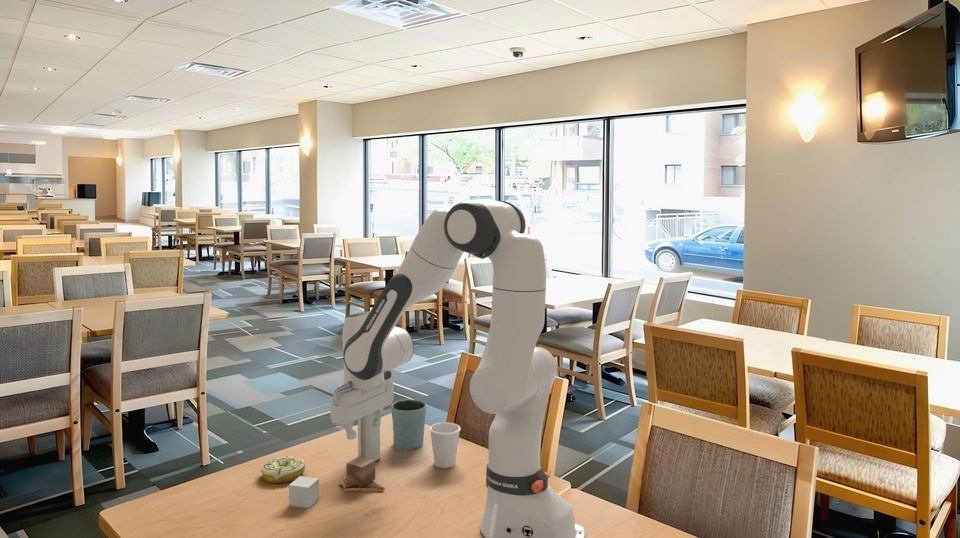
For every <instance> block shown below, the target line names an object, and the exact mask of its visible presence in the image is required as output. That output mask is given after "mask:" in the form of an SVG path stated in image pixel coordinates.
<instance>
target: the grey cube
mask: <svg viewBox="0 0 960 538" xmlns="http://www.w3.org/2000/svg"><path fill="white" fill-rule="evenodd" d="M319 499H320V478H319V477H310V476H302V475H301V476H299V477H298V478H297V479H294V480H292V482H291V483H290V484H289V485H288V505H289V506H291V507H296V508H297V507H298V508H306V509H310V508H311V506H313V505H314V504H315V503H316V502H317V501H318V500H319Z"/></svg>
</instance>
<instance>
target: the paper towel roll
mask: <svg viewBox="0 0 960 538" xmlns="http://www.w3.org/2000/svg"><path fill="white" fill-rule="evenodd" d="M374 414H375V412H373V413H371V414H369V415H367V416H364V417H362V418H360V419H358V420H357V457H358V456H361V457H365V458H369V459H373V460H375V462H376V461H378V460H379V459H381V425H380V426H378V427H376V428H375V427H372V423H371V420H373V418H374Z"/></svg>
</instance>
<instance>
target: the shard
mask: <svg viewBox="0 0 960 538" xmlns="http://www.w3.org/2000/svg"><path fill="white" fill-rule="evenodd" d="M338 483H339V485H342V486H343V492H373V493H374V492H384V491H385V490H386V487H383V485H380V484H379V483H377V482H375V480H373V481H372V482H370V483H369V484H367V485H365V486H364V487H361V486H357V485H353V484H350V483H347V477H345V478H342V479H339V480H338Z"/></svg>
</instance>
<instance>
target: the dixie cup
mask: <svg viewBox="0 0 960 538" xmlns="http://www.w3.org/2000/svg"><path fill="white" fill-rule="evenodd" d="M429 431H430V438H431V446H432V454H433V463H434V466H435V467H437V468H442V469H449V468H452V467H454V466H455V465H456V463H457V455H458V453H457V452H458V447H459V439H460V431H461V427H460V425H458V424H456V423H454V422H438V423H434V424H432V425H431V426H430V427H429Z"/></svg>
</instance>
